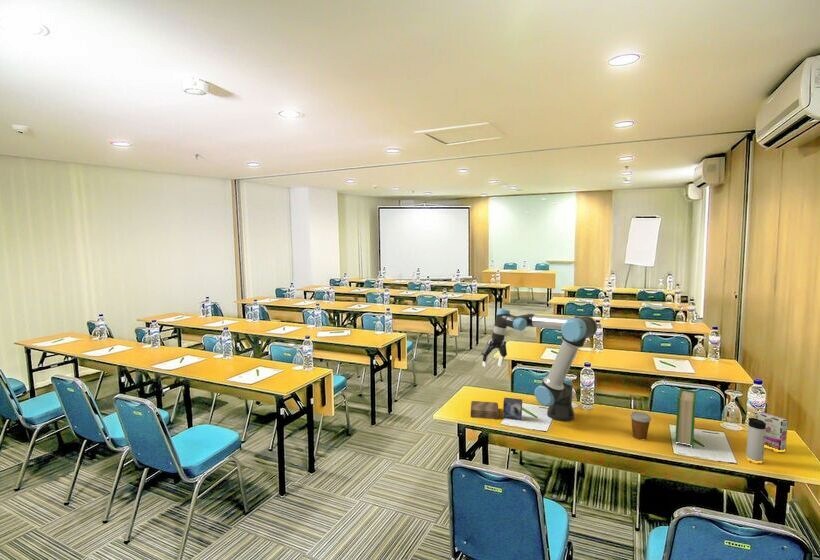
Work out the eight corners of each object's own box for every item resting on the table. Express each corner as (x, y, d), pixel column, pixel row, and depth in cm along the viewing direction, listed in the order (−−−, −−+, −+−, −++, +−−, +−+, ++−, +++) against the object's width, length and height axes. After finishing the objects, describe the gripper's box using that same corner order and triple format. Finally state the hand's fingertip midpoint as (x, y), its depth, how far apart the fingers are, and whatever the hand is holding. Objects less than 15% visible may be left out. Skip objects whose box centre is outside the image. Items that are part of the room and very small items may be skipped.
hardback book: (692, 448, 211) (695, 401, 209) (675, 444, 215) (677, 398, 213) (693, 435, 226) (696, 391, 224) (677, 432, 230) (679, 388, 228)
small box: (502, 418, 246) (503, 400, 245) (503, 414, 252) (504, 397, 251) (521, 420, 243) (522, 403, 242) (522, 416, 249) (522, 399, 248)
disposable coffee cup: (651, 442, 217) (652, 419, 216) (630, 439, 220) (631, 417, 219) (648, 434, 226) (649, 412, 225) (628, 432, 229) (629, 410, 228)
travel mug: (742, 456, 203) (745, 416, 201) (759, 458, 201) (762, 417, 200) (748, 463, 197) (751, 421, 195) (765, 465, 195) (769, 423, 194)
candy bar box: (786, 452, 208) (788, 419, 207) (779, 454, 206) (782, 421, 205) (760, 442, 218) (762, 411, 217) (754, 443, 217) (756, 412, 215)
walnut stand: (497, 408, 261) (497, 402, 260) (498, 419, 245) (498, 412, 245) (471, 406, 263) (471, 400, 263) (470, 417, 248) (470, 410, 247)
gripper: (508, 332, 273) (501, 363, 275) (480, 330, 259) (473, 364, 261) (517, 335, 267) (509, 367, 269) (488, 334, 253) (481, 368, 255)
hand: (491, 366), depth 265 cm, fingers open, 13 cm apart
